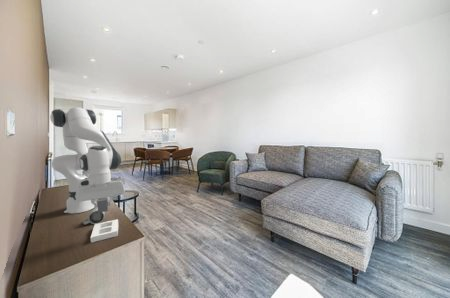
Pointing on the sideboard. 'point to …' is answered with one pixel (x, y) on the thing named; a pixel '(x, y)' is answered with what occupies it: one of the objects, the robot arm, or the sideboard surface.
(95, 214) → the ceramic mug
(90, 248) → the sideboard surface
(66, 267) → the sideboard surface
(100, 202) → the plug
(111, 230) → the outlet plate
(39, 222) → the sideboard surface
